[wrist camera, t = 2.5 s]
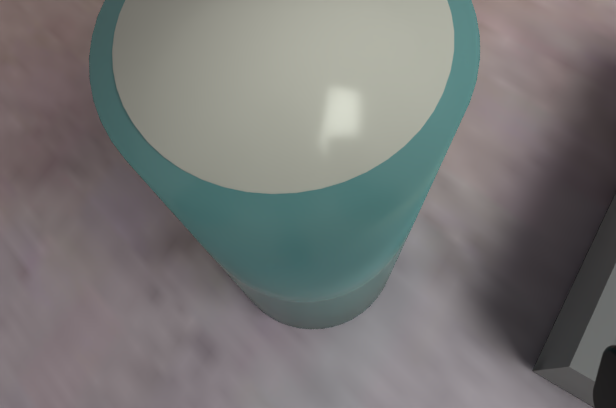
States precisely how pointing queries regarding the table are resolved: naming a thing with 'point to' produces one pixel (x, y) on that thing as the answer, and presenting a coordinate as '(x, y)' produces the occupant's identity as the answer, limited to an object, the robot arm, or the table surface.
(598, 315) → the tray
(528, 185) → the table surface
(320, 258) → the teal cylinder
